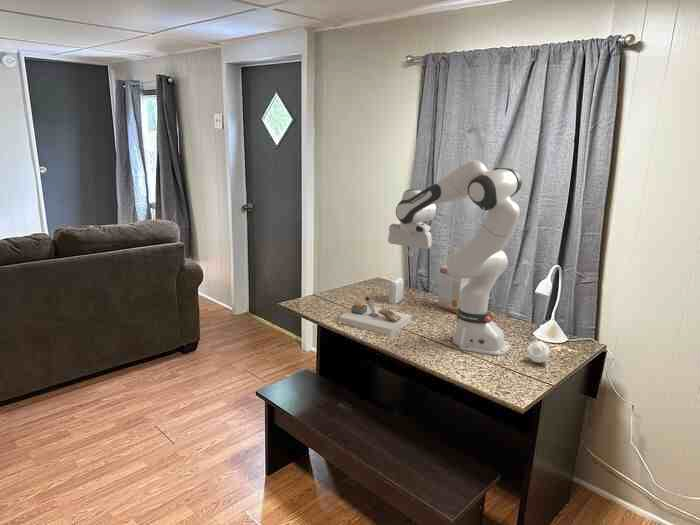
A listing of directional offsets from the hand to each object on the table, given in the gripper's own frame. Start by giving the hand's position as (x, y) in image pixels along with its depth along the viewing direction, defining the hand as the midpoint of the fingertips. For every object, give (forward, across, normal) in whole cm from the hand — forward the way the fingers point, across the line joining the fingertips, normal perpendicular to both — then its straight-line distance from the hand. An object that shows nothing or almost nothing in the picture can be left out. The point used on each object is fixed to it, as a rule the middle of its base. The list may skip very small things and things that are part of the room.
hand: (408, 255), depth 218 cm
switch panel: (+29, -8, -15) cm, 34 cm away
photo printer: (+29, -13, +16) cm, 36 cm away
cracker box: (+29, +15, +21) cm, 39 cm away
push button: (+24, -16, -15) cm, 33 cm away
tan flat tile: (+24, -1, -15) cm, 29 cm away
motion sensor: (+29, +62, -15) cm, 70 cm away
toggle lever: (+25, -9, -15) cm, 30 cm away
